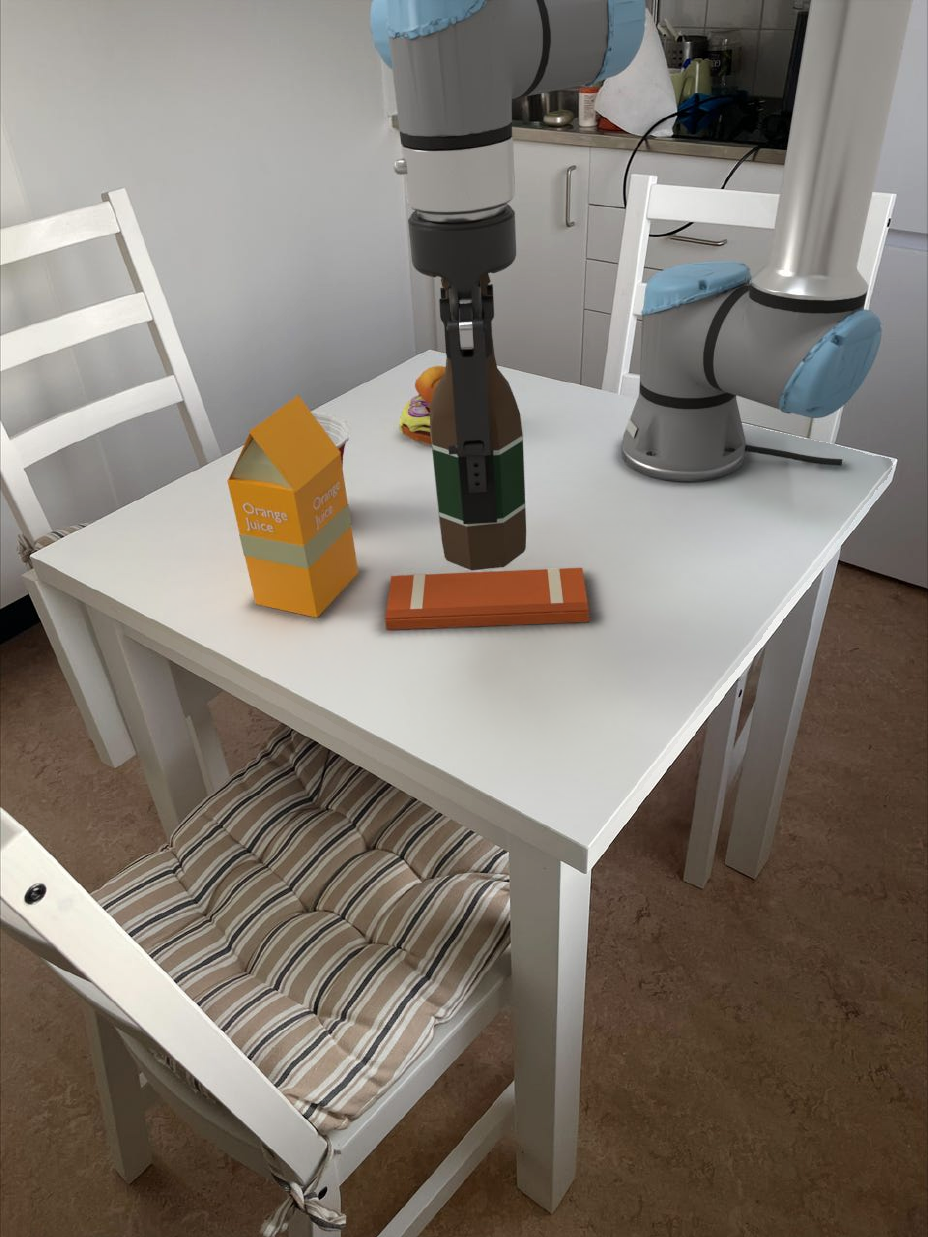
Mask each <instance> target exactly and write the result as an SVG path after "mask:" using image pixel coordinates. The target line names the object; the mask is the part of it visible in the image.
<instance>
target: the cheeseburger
mask: <svg viewBox="0 0 928 1237" xmlns="http://www.w3.org/2000/svg"><path fill="white" fill-rule="evenodd" d="M445 368H446V366H443V365H435V366H431V367H428V368H427V369H425V370H424V371H423V372H422V373H421V374H420V375H419V376H418V378H417V379H415V382H414V388H415V391H416V392H417V395H415V396H413V397H412V398H411V399H410V400H408V401H407V402H406V403H405V405H404V407H403V410H402V412H401V414H400V420H399V422H398V428H399V430H400V432H401V434H402V435H403V436H404V435H405V436H406V437H408V438H409V439H411V440H414V441H417V442H419V443H423V444H426V445H431V446H432V442H431V432H430V405H431V402H432V398H433V394H434V390H435V389H436V387H437V385H438V383H439V382H440V380H441V378H442V377H443V375H444V373H445Z"/></svg>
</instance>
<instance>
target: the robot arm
mask: <svg viewBox="0 0 928 1237" xmlns="http://www.w3.org/2000/svg"><path fill="white" fill-rule="evenodd" d="M913 2H914V0H810V3H809V4H810V5H809V11H808V17H807V22H806V29H805V35H804V40H803V47H802V53H801V60H800V66H799V73H798V78H797V84H796V89H795V90H796V91H795V98H794V104H793V108H792V110H793V111H792V116H791V122H790V127H789V128H790V129H789V134H788V142H787V147H786V154H785V160H784V166H783V171H782V179H781V185H780V190H779V196H778V203H777V210H776V216H775V222H774V228H773V234H772V241H771V246H770V253H769V258H768V261H767V263H766V264H765V265H764V266H763V267H762V268H761V269H759V270H758V271H757V272H756V273H754V274H753V275H751V268H750V267H749V266H748V265H747V264H745V263H743V262H740V261H733V260H709V261H708V260H707V261H697V262H689V263H684V264H679V265H676V266H672V267H668V268H665V269H663V270H660V271H658V272H656V273H655V274H654V275H653V276H651V277H650V278H649V279H648V281H647V283H646V285H645V288H644V289H645V290H644V298H643V307H642V309H641V311H640V313H641V334H640V335H641V336H640V358H639V360H640V362H639V363H640V365H639V386H638V388H639V389H638V397H637V399H636V402H635V405H634V407H633V410H632V412H631V415H630V417H629V418H628V421H627V424H626V426H625V431H624V432H623V435H622V441H621V458H622V459H623V461H624V462H625V463H626V464H627V466H629V467H630V468H632V469H633V470H634V471H637V472H638V473H641V474H643V475H645V476H649V477H651V478H655V479H660V480H665V481H673V482H699V481H701V482H702V481H708V480H712V479H713V480H714V479H717V478H720V477H721V478H722V477H723V476H726V475H729V474H731V473H733V472H735V471H736V470H737V469H738V468H740V467H741V466H742V464H743V463H744V461H745V458H746V452H748V453H754V454H760V455H766V456H772V457H779V458H783V459H788V460H794V461H797V462H799V461H800V462H803V463H804V462H805V463H809V464H816V465H824V466H839V467H841V466H842V465H843V458H829V457H820V456H813V455H807V454H802V453H797V452H791V451H786V450H781V449H774V448H769V447H762V446H757V445H751V444H749V445H748V444H747V443H746V441H747V440H746V436H745V430H744V426H743V422H742V418H741V413H740V409H739V404H738V401H737V400H738V399H737V397H740V398H742V399H746V400H749V401H753V402H755V403H759V404H762V405H763V406H768V407H771V408H773V409H777V410H779V411H780V412H782V413H784V414H795V415H798V416H803V417H807V418H811V419H820V418H825V417H827V416H830V415H832V414H834V413H836V412H837V411H839V410H840V409H841V408H842V407H844V406H845V405H846V404H847V403H848V402H849V401H850V400H851V399H852V397H853V396H854V395H855V393H856V392H857V391H858V390H859V389H860V387H861V386H862V384H863V383H864V381H865V380H866V378H867V376H868V374H869V373H870V371H871V368H872V367H873V365H874V362H875V360H876V357H877V355H878V352H879V349H880V345H881V341H882V334H883V329H882V327H881V325H882V322H881V319H880V317H879V316H878V315H877V314H876V313H874V312H873V311H872V310H871V309H865V305H866V300H867V296H868V290H869V284H868V282H867V280H866V279H865V278H864V277H863V275H862V274H861V272H860V271H859V270H858V262H859V258H860V253H861V249H862V244H863V240H864V234H865V229H866V225H867V220H868V215H869V210H870V207H871V201H872V197H873V192H874V187H875V182H876V177H877V173H878V168H879V163H880V159H881V153H882V149H883V144H884V140H885V135H886V129H887V126H888V121H889V115H890V111H891V105H892V101H893V96H894V92H895V87H896V82H897V77H898V73H899V68H900V64H901V58H902V55H903V49H904V45H905V39H906V35H907V34H906V33H907V30H908V26H909V21H910V15H911V12H912V11H911V10H912V6H913ZM646 11H647V10H646V0H372V1H371V7H370V16H369V20H370V22H369V23H370V32H371V35H372V41H373V43H374V47H375V49H376V52H377V53H378V55H379V57H380V59H381V60H382V61H383V63H384V64H385V65H386V66H387V67H388V68H390V70H392V76H393V78H392V79H393V84H394V85H393V86H394V95H395V103H396V111H397V122H398V130H399V138H400V144H401V154H402V157H403V158H399V159H396V160H395V161H394V164H393V171H394V173H396V174H397V175H400V176H403V175H407V177H406V178H405V181H404V185H405V186H404V189H405V198H406V204H407V206H408V207H410V209H411V210H414V211H413V212H412V213H410V216H409V217H408V219H407V225H408V236H409V237H408V238H409V246H410V247H409V248H410V255H411V256H410V257H411V263H412V266H413V268H414V269H415V270H416V271H417V272H418V273H420V274H422V275H424V276H427V277H430V278H437V277H438V278H441V277H442V278H444V279H446V280H448V281H449V298H446V290H445V288H444V287H440V289H439V292H440V298H439V300H438V303H439V304H438V305H439V318H440V322H442V324H443V328H444V345H445V346H444V347H445V355H446V358H447V357H448V359H450V360H451V368H452V382H453V396H454V409H455V423H456V437H457V443H456V444H457V445H456V446H449V447H448V449H449V455H450V454H457V456H458V463H459V475H460V488H461V500H462V512H463V524H480V523H497V509H496V492H495V474H494V457H493V442H492V441H491V440H490V421H489V401H488V382H487V363H486V362H487V359H488V358H489V357H490V356H491V355H492V352H493V348H492V338H493V322H492V321H493V320H494V318H495V303H494V300H495V299H494V284H492V283H489V284H488V285H487V294H488V295H487V296H483V294H481V281H480V278H481V277H482V276H484V275H486V274H497V273H498V272H499V273H500V272H501V271H503V270H506V269H507V268H509V267H510V266H511V265H512V264H513V263H514V262H515V261H516V257H517V231H516V230H517V229H516V212H515V210H514V209H513V208H512V206H511V205H510V204H509V203H511V201H512V200H513V199H514V197H515V196H516V184H515V183H516V181H515V180H516V179H515V157H514V154H515V153H514V135H513V105H512V104H513V101H515V100H519V99H522V98H524V97H530V96H533V95H534V96H535V95H540V94H545V93H549V92H555V91H561V90H565V89H569V88H575V87H580V86H584V87H592V86H594V85H595V84H596V83H598V82H601V81H604V80H607V79H610V78H614V77H616V76H618V75H619V74H621V73H623V72H624V71H625V70H626V69H627V68H628V67H629V66H630V65H631V64H632V62H633V61H634V59H635V58H636V57H637V54H638V52H640V48H641V45H642V43H643V39H644V37H645V32H646V31H645V30H646V25H645V24H646V20H647V18H646ZM483 315H484V320H483ZM484 333H485V336H484Z"/></svg>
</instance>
